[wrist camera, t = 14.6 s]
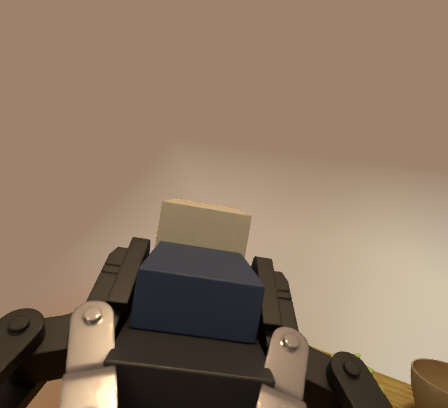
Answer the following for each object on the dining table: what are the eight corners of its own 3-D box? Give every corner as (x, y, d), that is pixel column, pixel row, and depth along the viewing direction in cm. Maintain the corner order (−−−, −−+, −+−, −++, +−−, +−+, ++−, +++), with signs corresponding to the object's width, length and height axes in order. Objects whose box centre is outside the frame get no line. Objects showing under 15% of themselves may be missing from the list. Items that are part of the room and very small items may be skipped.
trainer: (267, 435, 9) (302, 234, 9) (93, 416, 8) (128, 205, 8) (220, 273, 27) (231, 207, 27) (164, 265, 26) (175, 198, 26)
